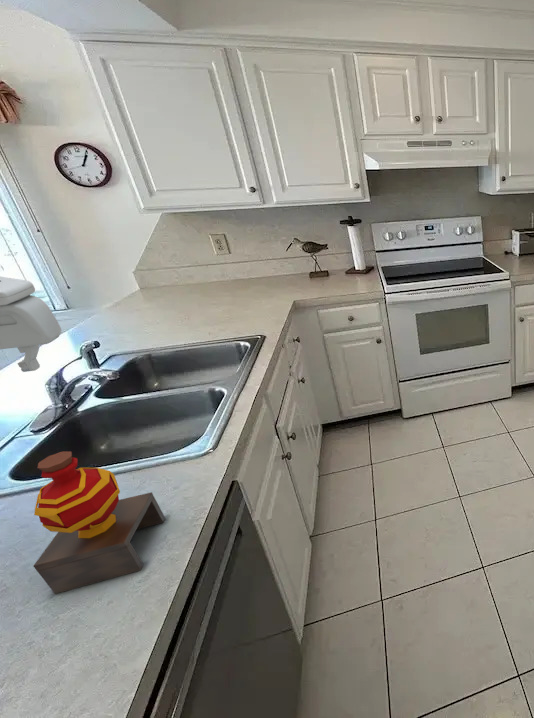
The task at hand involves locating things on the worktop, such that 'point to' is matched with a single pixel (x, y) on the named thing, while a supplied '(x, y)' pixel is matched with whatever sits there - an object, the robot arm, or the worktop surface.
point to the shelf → (99, 548)
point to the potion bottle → (76, 497)
